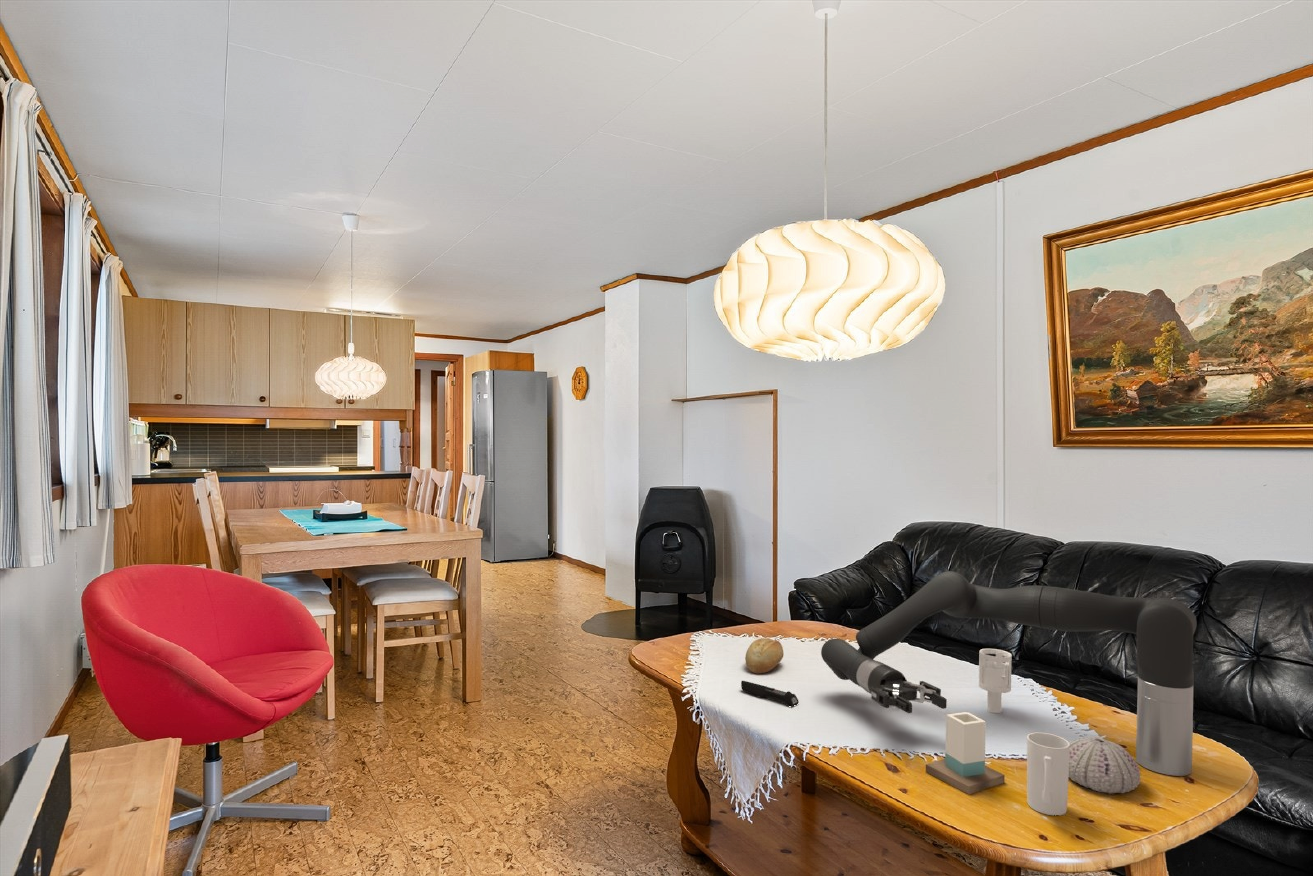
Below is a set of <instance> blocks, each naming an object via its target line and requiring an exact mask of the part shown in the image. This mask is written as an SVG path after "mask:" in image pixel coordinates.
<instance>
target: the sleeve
mask: <svg viewBox="0 0 1313 876" xmlns="http://www.w3.org/2000/svg"><path fill="white" fill-rule="evenodd" d="M986 725H987V723H986V721H985V720H983V719H982V718H980V717H979V716H978V717H977V716H975V715H974V714H972V713H971V712H968V711H962V712H955V713H950V714H949V713H947V714H945V758H944V759H945V766H947V767H948V768H950V769H951V770H953V771H954V772H956V773H958V774H959V775H961V776H962V777H967V776H973V775H979V774H985V766H986V733H987V731H986V729H987V728H986Z"/></svg>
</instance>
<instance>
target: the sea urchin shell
mask: <svg viewBox="0 0 1313 876" xmlns="http://www.w3.org/2000/svg"><path fill="white" fill-rule="evenodd" d="M1141 776H1142V774H1141V772H1140V768H1139V764H1138V762H1137V761H1136V759H1135V758H1134V757H1133V756H1132V755H1131V754H1130V753H1129V752H1128V750H1126V749H1125V748H1124V747H1122V746H1121V745H1120V744H1118V743H1116V742H1113V741H1110V740H1107V739H1105V738H1101V737H1098V736H1092V737H1091V736H1090V737H1082V738H1078V739H1077V740H1074V741H1073V742H1071V743H1070V756H1069V776H1068V778H1070V779H1071V781H1073V782H1074V783H1077V784H1078V785H1080V786H1083V787H1084V788H1090V789H1091V790H1093V791H1096V792H1098V793H1106V794H1109V795H1110V794H1112V795H1113V794H1117V793H1118V794H1126V793H1129V792H1132V791H1134V790H1135V789H1136V788H1138V785H1140V781H1141Z"/></svg>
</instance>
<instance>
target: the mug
mask: <svg viewBox="0 0 1313 876" xmlns="http://www.w3.org/2000/svg"><path fill="white" fill-rule="evenodd" d="M1070 744H1071V743H1070V742H1069V741H1068V740H1067V739H1065V738H1063V737H1061V736H1059V735H1056V734H1052V733H1048V732H1032V733H1028V734H1027V738H1026V784H1027V785H1026V795H1027V796H1026V797H1027V799H1026V800H1027V801H1026V802H1027V804H1028V807H1030V808H1031V809H1032V810H1034V811H1036V812H1038V813H1040V814H1043V815H1047V816H1054V815H1055V816H1056V815H1059V816H1063V815H1065V814H1066V813H1067V809H1068V799H1069V798H1068V795H1069V794H1068V793H1069V777H1068V776H1069V756H1070ZM1056 817H1057V816H1056Z"/></svg>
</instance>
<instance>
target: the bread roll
mask: <svg viewBox="0 0 1313 876" xmlns="http://www.w3.org/2000/svg"><path fill="white" fill-rule="evenodd" d="M784 656H785V655H784V649H783V645H782V643H781V642H780V641H779V640H777V639H776V638H775V639H774V640H773V639H771V638H770V637H769V638H763V637H762V638H757V639H755V640H754V641H753V642H751V643H750V645H749V646H748V648H747V649H746V653H745V665H746V667H747V669H748V670H749V671H750V672H751V673H753V674H755V675H756V674H764V673H767V672H769V671H771V670H773V669H774V668H776V666H778V664H780V663H781V661H782V660H783V659H784Z"/></svg>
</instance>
